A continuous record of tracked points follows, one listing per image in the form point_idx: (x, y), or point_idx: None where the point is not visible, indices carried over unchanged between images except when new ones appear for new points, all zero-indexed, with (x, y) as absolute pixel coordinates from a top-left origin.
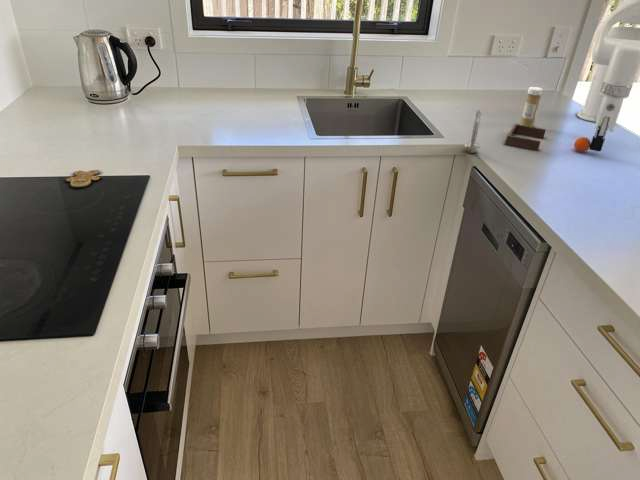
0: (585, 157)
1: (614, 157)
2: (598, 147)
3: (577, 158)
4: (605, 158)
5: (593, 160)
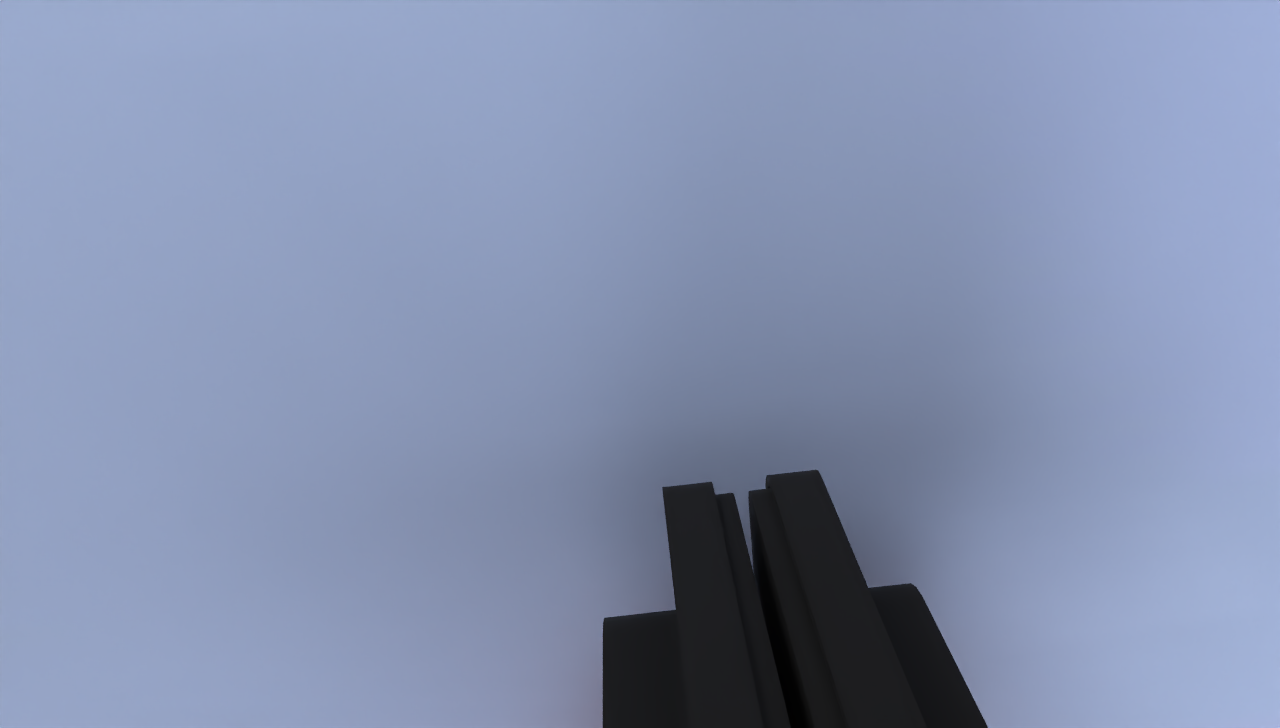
0: (1082, 607)
1: (658, 17)
2: (919, 607)
3: (1225, 709)
4: (902, 229)
5: (1208, 444)
